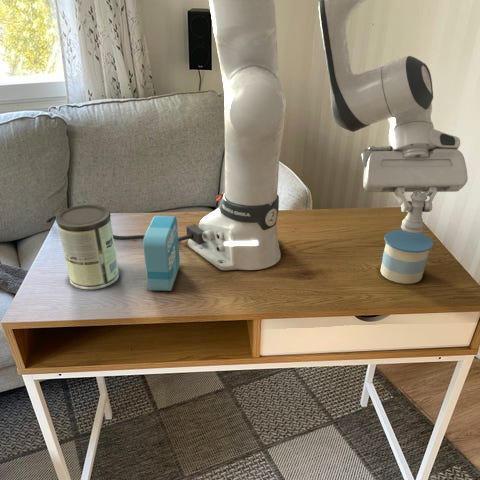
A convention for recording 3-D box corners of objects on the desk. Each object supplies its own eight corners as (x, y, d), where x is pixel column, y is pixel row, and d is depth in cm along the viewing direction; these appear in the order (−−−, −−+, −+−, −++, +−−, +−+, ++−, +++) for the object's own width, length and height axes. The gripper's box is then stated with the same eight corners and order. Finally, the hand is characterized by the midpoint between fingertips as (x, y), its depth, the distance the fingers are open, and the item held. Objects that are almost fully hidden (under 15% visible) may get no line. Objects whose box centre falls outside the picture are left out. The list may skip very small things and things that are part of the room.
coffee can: (71, 267, 109) (58, 205, 101) (119, 263, 110) (111, 203, 102) (66, 292, 101) (52, 227, 92) (118, 288, 102) (109, 224, 94)
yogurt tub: (369, 273, 108) (375, 240, 104) (392, 257, 114) (399, 225, 109) (411, 290, 103) (419, 255, 98) (432, 272, 109) (441, 239, 104)
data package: (170, 294, 101) (166, 240, 94) (148, 293, 101) (142, 239, 94) (180, 264, 110) (176, 213, 103) (159, 263, 110) (155, 213, 103)
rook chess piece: (396, 231, 102) (404, 193, 97) (404, 223, 105) (412, 186, 100) (418, 236, 100) (427, 198, 95) (425, 228, 103) (434, 191, 98)
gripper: (365, 138, 98) (369, 205, 96) (467, 138, 99) (474, 204, 97) (357, 154, 104) (361, 217, 102) (453, 153, 105) (459, 216, 103)
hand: (417, 211), depth 100 cm, fingers closed on rook chess piece, 3 cm apart
